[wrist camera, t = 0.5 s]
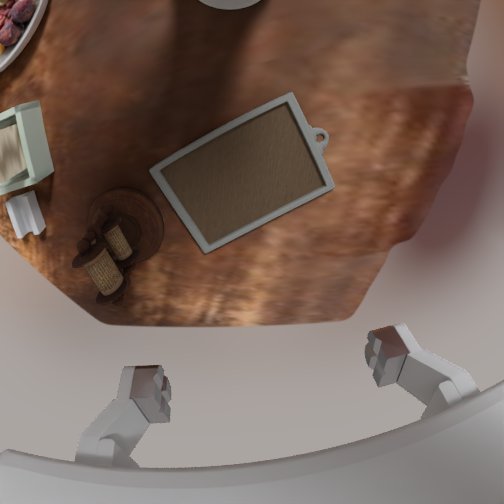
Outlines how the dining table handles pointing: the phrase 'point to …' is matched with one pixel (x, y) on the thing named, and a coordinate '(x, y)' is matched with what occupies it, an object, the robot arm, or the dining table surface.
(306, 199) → the framed board
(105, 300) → the scroll
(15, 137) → the beige streaked board
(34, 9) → the bowl
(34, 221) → the holder
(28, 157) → the box
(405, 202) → the dining table surface
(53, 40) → the dining table surface
